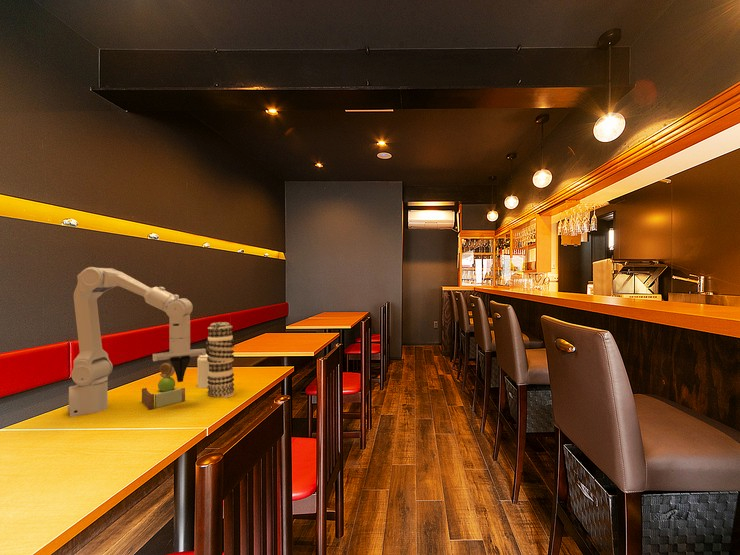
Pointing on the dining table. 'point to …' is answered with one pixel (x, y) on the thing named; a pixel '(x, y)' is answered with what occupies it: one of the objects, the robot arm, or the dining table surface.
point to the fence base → (147, 399)
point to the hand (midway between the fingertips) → (180, 381)
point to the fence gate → (169, 397)
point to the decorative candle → (220, 360)
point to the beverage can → (202, 371)
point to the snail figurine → (166, 378)
